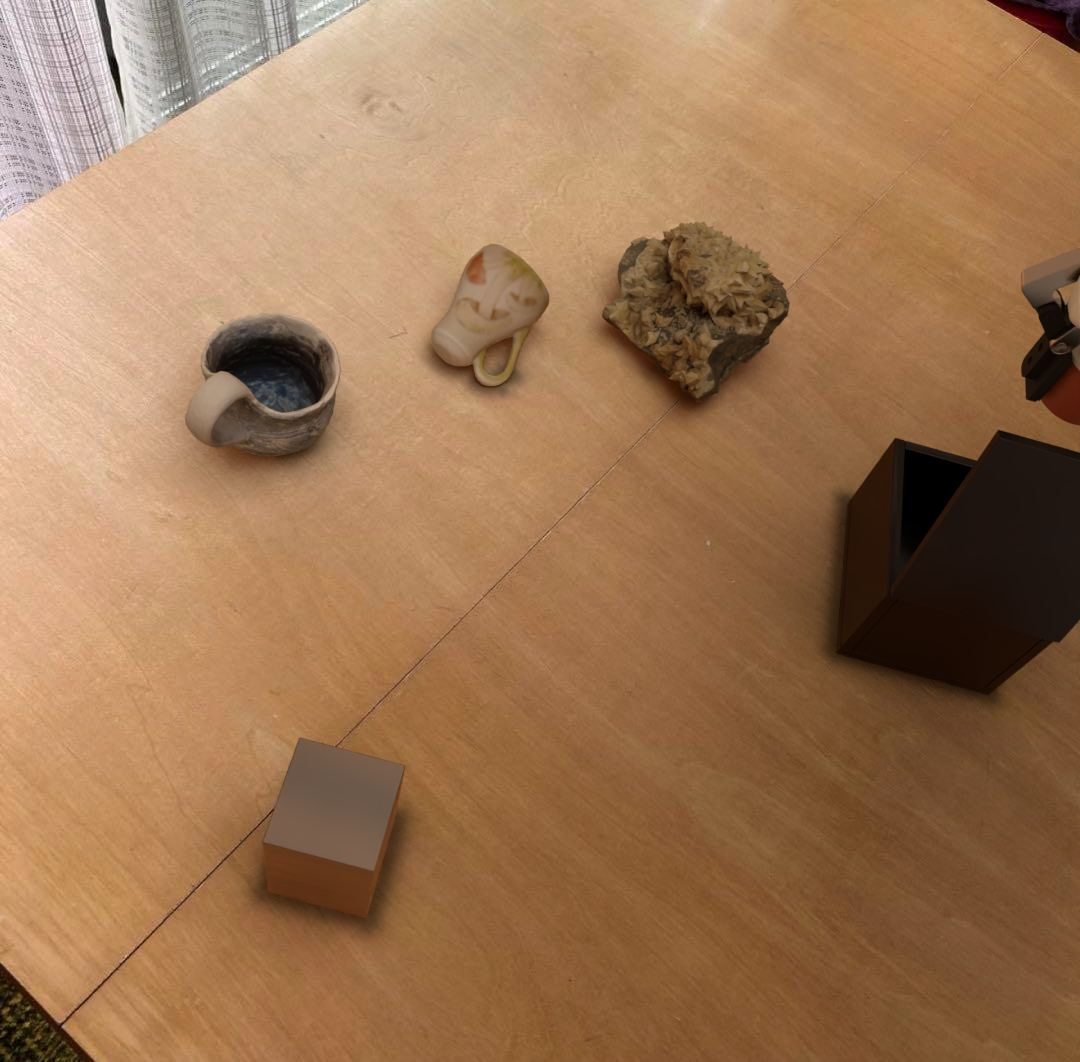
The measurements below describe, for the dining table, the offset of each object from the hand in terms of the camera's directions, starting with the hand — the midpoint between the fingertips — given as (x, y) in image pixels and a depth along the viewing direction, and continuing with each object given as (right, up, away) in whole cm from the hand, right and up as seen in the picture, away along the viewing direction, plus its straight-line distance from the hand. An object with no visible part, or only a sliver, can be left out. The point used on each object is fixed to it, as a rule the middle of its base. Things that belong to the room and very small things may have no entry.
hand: (1074, 394), depth 70 cm
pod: (0, 0, 0) cm, 0 cm away
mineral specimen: (-21, +8, +27) cm, 35 cm away
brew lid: (-2, -9, +1) cm, 9 cm away
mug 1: (-53, -2, +15) cm, 55 cm away
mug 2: (-37, +7, +23) cm, 44 cm away
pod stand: (-45, -28, 0) cm, 53 cm away
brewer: (-4, -13, +17) cm, 22 cm away
